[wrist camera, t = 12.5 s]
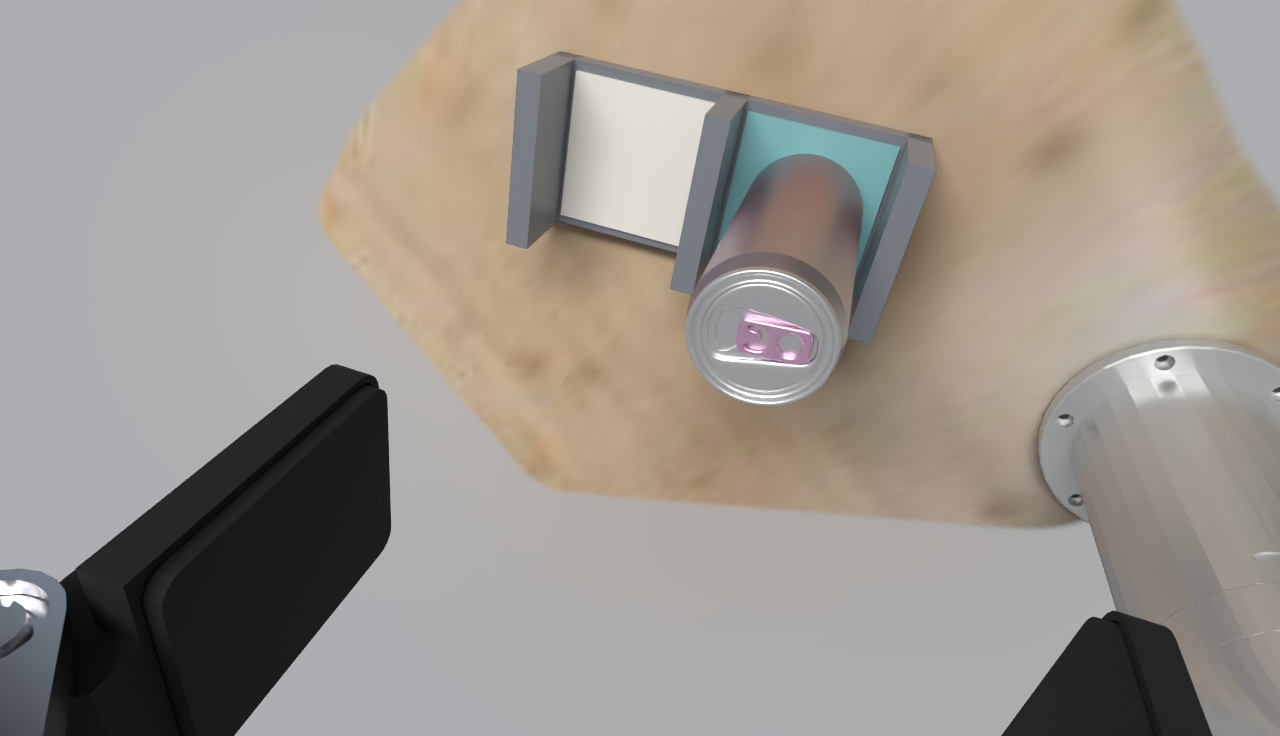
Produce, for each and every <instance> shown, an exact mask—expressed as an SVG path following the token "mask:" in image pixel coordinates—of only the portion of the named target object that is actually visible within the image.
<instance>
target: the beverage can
mask: <svg viewBox="0 0 1280 736" xmlns="http://www.w3.org/2000/svg"><path fill="white" fill-rule="evenodd" d="M862 216H863V202H862V197H861V193H860V190H859V188H858V186H857V184H856V182H855V180H854V179H853V178H852V176H851V175H850V174H849V173H848V172H847V171H846V170H845V169H844V168H843V167H842V166H841V165H839V164H838V163H836V162H834V161H833V160H831V159H829V158H826V157H823V156H820V155H815V154H794V155H789V156H786V157H783V158H780V159H778V160H776V161H774V162H772V163H771V164H769V165H768V166H767V167H765V168H764V169H763V170H762V171H761V172H760V173H759V174H758V175H757V177H756V178H755V179H754V181H753V182H752V184H751V186H750V188H749V190H748V191H747V193H746V195H745V197H744V199H743V201H742V203H741V204H740V206H739V208H738V210H737V212H736V214H735V215H734V217H733V219H732V221H731V223H730V225H729V227H728V228H727V230H726V232H725V234H724V236H723V238H722V240H721V241H720V243H719V245H718V247H717V249H716V251H715V252H714V254H713V256H712V258H711V260H710V262H709V264H708V265H707V267H706V269H705V271H704V273H703V275H702V277H701V278H700V280H699V282H698V284H697V286H696V288H695V290H694V292H693V294H692V296H691V299H690V302H689V306H688V312H687V322H686V343H687V348H688V351H689V354H690V357H691V359H692V361H693V363H694V365H695V367H696V368H697V370H698V371H699V373H700V374H701V375H702V376H703V377H704V379H705V380H706V381H707V382H708V383H709V384H711V385H712V386H713V387H714V388H715V389H717V390H718V391H720V392H721V393H723V394H725V395H726V396H728V397H730V398H732V399H735V400H737V401H740V402H743V403H747V404H752V405H758V406H778V405H785V404H789V403H793V402H796V401H798V400H801V399H803V398H805V397H807V396H809V395H810V394H812V393H813V392H815V391H816V390H817V389H819V388H820V387H821V386H822V385H823V384H824V383H825V382H826V381H827V379H828V378H829V377H830V375H831V374H832V372H833V370H834V368H835V366H836V365H837V363H838V361H839V360H840V358H841V356H842V354H843V352H844V349H845V346H846V342H847V336H848V328H849V320H850V312H851V304H852V296H853V288H854V280H855V272H856V265H857V257H858V249H859V241H860V233H861V225H862Z"/></svg>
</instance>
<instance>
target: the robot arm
mask: <svg viewBox="0 0 1280 736" xmlns="http://www.w3.org/2000/svg"><path fill="white" fill-rule="evenodd" d="M1163 355H1164V356H1163ZM1160 356H1163V357H1161V358H1158V357H1160ZM1063 414H1065V415H1063ZM1037 448H1038V454H1039V460H1040V465H1041V468H1042V471H1043V475H1044V478H1045V481H1046V482H1047V484H1048V486H1049V487H1050V489H1051V491H1052V492H1053V494H1054V496H1055V497H1056V498H1057V499H1058V500H1059V501H1060V502H1061V503H1062V505H1063V506H1064V507H1065V508H1067V509H1068V510H1069V511H1071V512H1072V513H1074V514H1075V515H1076V516H1078V517H1079V518H1081V519H1082V520H1083V521H1086V522H1088V523H1090V526H1091V529H1092V532H1093V535H1094V539H1095V542H1096V545H1097V548H1098V552H1099V555H1100V558H1101V561H1102V564H1103V568H1104V571H1105V574H1106V578H1107V581H1108V584H1109V587H1110V591H1111V594H1112V597H1113V600H1114V604H1115V607H1116V610H1117V611H1111V612H1109V613H1107V614H1106V615H1105V616H1104V617H1103V618H1102V619H1100V618H1097V617H1091V618H1089V619H1088V620H1087V621H1086V622H1085V623H1084V624H1083V626H1082V627H1081V628H1080V630H1079V631H1078V632H1077V634H1076V635H1075V636H1074V638H1073V639H1072V641H1071V642H1070V643H1069V645H1068V646H1067V647H1066V649H1065V650H1064V652H1063V653H1062V654H1061V656H1060V657H1059V658H1058V660H1057V661H1056V662H1055V664H1054V665H1053V666H1052V668H1051V669H1050V670H1049V672H1048V673H1047V674H1046V676H1045V677H1044V679H1043V680H1042V681H1041V683H1040V684H1039V686H1038V687H1037V688H1036V689H1035V691H1034V692H1033V693H1032V695H1031V696H1030V698H1029V699H1028V700H1027V702H1026V703H1025V704H1024V706H1023V707H1022V709H1021V710H1020V711H1019V712H1018V714H1017V715H1016V717H1015V718H1014V719H1013V721H1012V722H1011V723H1010V725H1009V726H1008V727H1007V729H1006V730H1005V731H1004V733H1003V734H1002V736H1280V366H1279V365H1278V364H1277V363H1275V362H1274V361H1272V360H1271V359H1270V358H1268V357H1266V356H1264V355H1261V354H1259V353H1257V352H1255V351H1253V350H1250V349H1248V348H1246V347H1242V346H1238V345H1234V344H1230V343H1226V342H1223V341H1215V340H1204V339H1194V338H1193V339H1172V340H1162V341H1157V342H1152V343H1146V344H1141V345H1137V346H1134V347H1131V348H1128V349H1125V350H1122V351H1119V352H1117V353H1114V354H1111V355H1110V356H1108V357H1106V358H1104V359H1102V360H1100V361H1098V362H1096V363H1094V364H1092V365H1090V366H1089V367H1087V368H1086V369H1085V370H1083V371H1082V372H1081V373H1079V374H1078V375H1077V376H1075V377H1074V378H1072V379H1071V380H1070V381H1069V382H1068V383H1067V384H1066V385H1065V386H1064V387H1063V388H1062V390H1061V391H1060V392H1059V393H1058V394H1057V395H1056V396H1055V398H1054V399H1053V401H1052V402H1051V404H1050V406H1049V407H1048V409H1047V410H1046V412H1045V414H1044V417H1043V420H1042V423H1041V426H1040V428H1039V435H1038V446H1037ZM389 475H390V474H389V441H388V407H387V395H386V393H385V391H383V390H381V389H379V386H378V382H377V380H376V378H375V377H373V376H372V375H369V374H366V373H363V372H359V371H356V370H353V369H350V368H347V367H344V366H340V365H337V364H336V365H331V366H329V367H327V368H325V369H324V370H323V371H322V372H320V373H319V374H318V375H317V376H315V377H314V378H313V379H312V380H310V381H309V382H308V383H307V384H305V385H304V386H303V387H302V388H300V389H299V390H298V391H297V392H295V393H294V394H293V395H292V396H290V397H289V398H288V399H287V400H285V401H284V402H283V403H282V404H280V405H279V406H278V407H277V408H276V409H274V410H273V411H272V412H270V413H269V414H268V415H267V416H265V417H264V418H263V419H262V420H260V421H259V422H258V423H257V424H255V425H254V426H253V427H252V428H251V429H249V430H248V431H247V432H245V433H244V434H243V435H242V436H240V437H239V438H238V439H237V440H235V441H234V442H233V443H232V444H230V445H229V446H228V447H227V448H226V449H224V450H223V451H222V452H221V453H219V454H218V455H217V456H215V457H214V458H213V459H212V460H211V461H209V462H208V463H207V464H206V465H204V466H203V467H202V468H201V469H199V470H198V471H197V472H196V473H194V474H193V475H192V476H191V477H189V478H188V479H187V480H186V481H184V482H183V483H182V484H181V485H180V486H178V487H177V488H176V489H174V490H173V491H172V492H171V493H169V494H168V495H167V496H166V497H164V498H163V499H162V500H161V501H159V502H158V503H157V504H156V505H154V506H153V507H152V508H151V509H149V510H148V511H147V512H146V513H144V514H143V515H142V516H141V517H139V518H138V519H137V520H136V521H134V522H133V523H132V524H131V525H129V526H128V527H127V528H126V529H124V530H123V531H122V532H121V533H119V534H118V535H117V536H116V537H114V538H113V539H112V540H111V541H109V542H108V543H107V544H106V545H105V546H103V547H102V548H101V549H100V550H98V551H97V552H96V553H94V554H93V555H92V556H91V557H90V558H88V559H87V560H86V561H85V562H83V563H82V564H81V565H79V566H78V567H77V568H76V570H74V571H73V572H72V573H71V574H69V575H68V576H67V577H66V578H64V579H63V580H62V581H61V582H58V580H57V579H54V578H53V577H51V576H49V575H47V574H45V573H43V572H40V571H32V570H26V569H10V570H0V736H234V735H235V734H236V733H237V731H238V730H239V729H240V728H241V726H242V725H243V724H244V723H245V721H246V720H247V719H248V718H249V716H250V715H251V714H252V713H253V711H254V710H255V709H256V708H257V706H258V705H259V704H260V703H261V701H262V700H263V699H264V697H265V696H266V695H267V694H268V693H269V692H270V690H271V689H272V688H273V687H274V685H275V684H276V683H277V681H278V680H279V679H280V678H281V677H282V675H283V674H284V673H285V672H286V670H287V669H288V668H289V667H290V665H291V664H292V663H293V662H294V660H295V659H296V658H297V657H298V655H299V654H300V653H301V652H302V650H303V649H304V648H305V647H306V645H307V644H308V643H309V642H310V641H311V639H312V638H313V637H314V636H315V634H316V633H317V632H318V631H319V629H320V628H321V627H322V626H323V624H324V623H325V622H326V621H327V619H328V618H329V617H330V616H331V614H332V613H333V612H334V611H335V610H336V608H337V607H338V606H339V605H340V603H341V602H342V601H343V600H344V598H345V597H346V596H347V595H348V593H349V592H350V591H351V590H352V588H353V587H354V586H355V585H356V583H357V582H358V581H359V580H360V578H361V577H362V576H363V575H364V573H365V572H366V571H367V570H368V569H369V567H370V566H371V565H372V563H373V562H374V561H375V560H376V558H377V557H378V556H379V555H380V554H381V552H382V551H383V549H384V547H385V545H386V544H387V541H388V539H389V536H390V531H391V511H390V510H391V509H390V476H389Z"/></svg>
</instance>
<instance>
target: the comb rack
mask: <svg viewBox="0 0 1280 736" xmlns="http://www.w3.org/2000/svg"><path fill="white" fill-rule="evenodd" d="M794 154H815V155H820V156H823V157H826V158H829V159H831V160H833V161H834V162H836V163H838V164H839V165H841V166H842V167H843V168H844V169H845V170H846V171H847V172H848V173H849V174H850V175H851V176H852V178H853V179H854V180H855V182H856V184H857V186H858V188H859V190H860V193H861V197H862V202H863V216H862V225H861V233H860V241H859V249H858V257H857V265H856V272H855V280H854V288H853V296H852V304H851V312H850V320H849V328H848V336H847V338H848V339H851V340H855V341H859V342H862V343H866V344H869V345H870V342H871V340H872V337H873V334H874V332H875V329H876V327H877V324H878V321H879V319H880V316H881V313H882V311H883V308H884V306H885V303H886V300H887V298H888V295H889V292H890V290H891V287H892V285H893V282H894V279H895V277H896V274H897V271H898V269H899V266H900V264H901V261H902V258H903V256H904V253H905V250H906V248H907V245H908V243H909V240H910V237H911V235H912V232H913V229H914V227H915V224H916V222H917V219H918V216H919V214H920V211H921V208H922V206H923V203H924V201H925V198H926V195H927V193H928V190H929V187H930V185H931V182H932V180H933V177H934V174H935V172H936V165H935V157H934V150H933V143H932V138H929V137H924V136H920V135H916V134H911V133H907V132H903V131H899V130H894V129H890V128H886V127H882V126H877V125H873V124H869V123H864V122H860V121H856V120H852V119H847V118H843V117H839V116H835V115H830V114H826V113H822V112H818V111H813V110H809V109H805V108H800V107H796V106H792V105H788V104H783V103H779V102H775V101H771V100H766V99H762V98H758V97H753V96H749V95H745V94H741V93H736V92H732V91H728V90H724V89H719V88H715V87H711V86H706V85H702V84H698V83H694V82H689V81H685V80H681V79H677V78H672V77H668V76H664V75H659V74H655V73H651V72H647V71H642V70H638V69H634V68H630V67H625V66H621V65H617V64H613V63H608V62H604V61H600V60H595V59H591V58H587V57H583V56H578V55H574V54H570V53H566V52H561V51H560V52H557V53H555V54H553V55H550V56H548V57H545V58H543V59H541V60H538V61H536V62H534V63H531V64H529V65H527V66H524V67H522V68H519V69H518V71H517V87H516V102H515V117H514V132H513V147H512V162H511V177H510V192H509V207H508V222H507V237H506V243H507V244H510V245H514V246H517V247H521V248H525V249H527V248H529V247H530V246H531V245H532V244H533V243H534V242H535V241H536V240H537V239H538V238H539V237H541V236H542V235H543V234H544V233H545V232H546V231H547V230H548V229H549V228H550V227H552V226H553V225H554V224H555V223H556V222H557V221H561V222H564V223H568V224H572V225H575V226H579V227H583V228H587V229H590V230H594V231H598V232H601V233H605V234H609V235H612V236H616V237H620V238H623V239H627V240H631V241H635V242H638V243H642V244H646V245H649V246H653V247H657V248H660V249H664V250H668V251H672V252H675V253H677V256H676V261H675V266H674V271H673V276H672V281H671V286H670V289H672V290H675V291H679V292H683V293H686V294H690V295H692V294H693V292H694V290H695V288H696V286H697V284H698V282H699V280H700V278H701V277H702V275H703V273H704V271H705V269H706V267H707V265H708V264H709V262H710V260H711V258H712V256H713V254H714V252H715V251H716V249H717V247H718V245H719V243H720V241H721V240H722V238H723V236H724V234H725V232H726V230H727V228H728V227H729V225H730V223H731V221H732V219H733V217H734V215H735V214H736V212H737V210H738V208H739V206H740V204H741V203H742V201H743V199H744V197H745V195H746V193H747V191H748V190H749V188H750V186H751V184H752V182H753V181H754V179H755V178H756V177H757V175H758V174H759V173H760V172H761V171H762V170H763V169H764V168H765V167H767V166H768V165H769V164H771V163H772V162H774V161H776V160H778V159H780V158H783V157H786V156H789V155H794Z"/></svg>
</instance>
